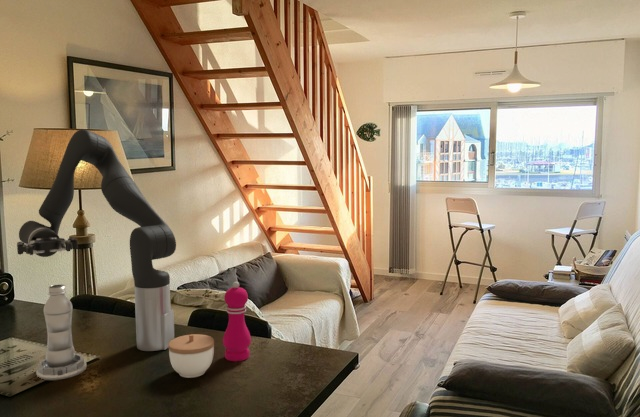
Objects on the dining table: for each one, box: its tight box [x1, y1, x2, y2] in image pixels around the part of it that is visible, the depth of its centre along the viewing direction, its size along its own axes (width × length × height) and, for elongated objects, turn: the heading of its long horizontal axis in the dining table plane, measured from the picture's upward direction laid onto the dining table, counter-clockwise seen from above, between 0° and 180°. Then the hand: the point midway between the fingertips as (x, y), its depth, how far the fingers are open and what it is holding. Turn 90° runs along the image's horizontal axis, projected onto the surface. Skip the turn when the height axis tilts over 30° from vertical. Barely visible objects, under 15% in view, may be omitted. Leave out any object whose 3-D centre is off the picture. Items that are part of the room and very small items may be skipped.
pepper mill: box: [222, 281, 252, 362], centre depth 137 cm, size 7×7×20 cm
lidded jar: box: [167, 333, 215, 379], centre depth 127 cm, size 11×11×9 cm
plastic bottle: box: [43, 284, 76, 368], centre depth 128 cm, size 6×7×20 cm
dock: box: [35, 352, 87, 381], centre depth 129 cm, size 11×11×2 cm
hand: (50, 249), depth 135 cm, fingers open, 8 cm apart
